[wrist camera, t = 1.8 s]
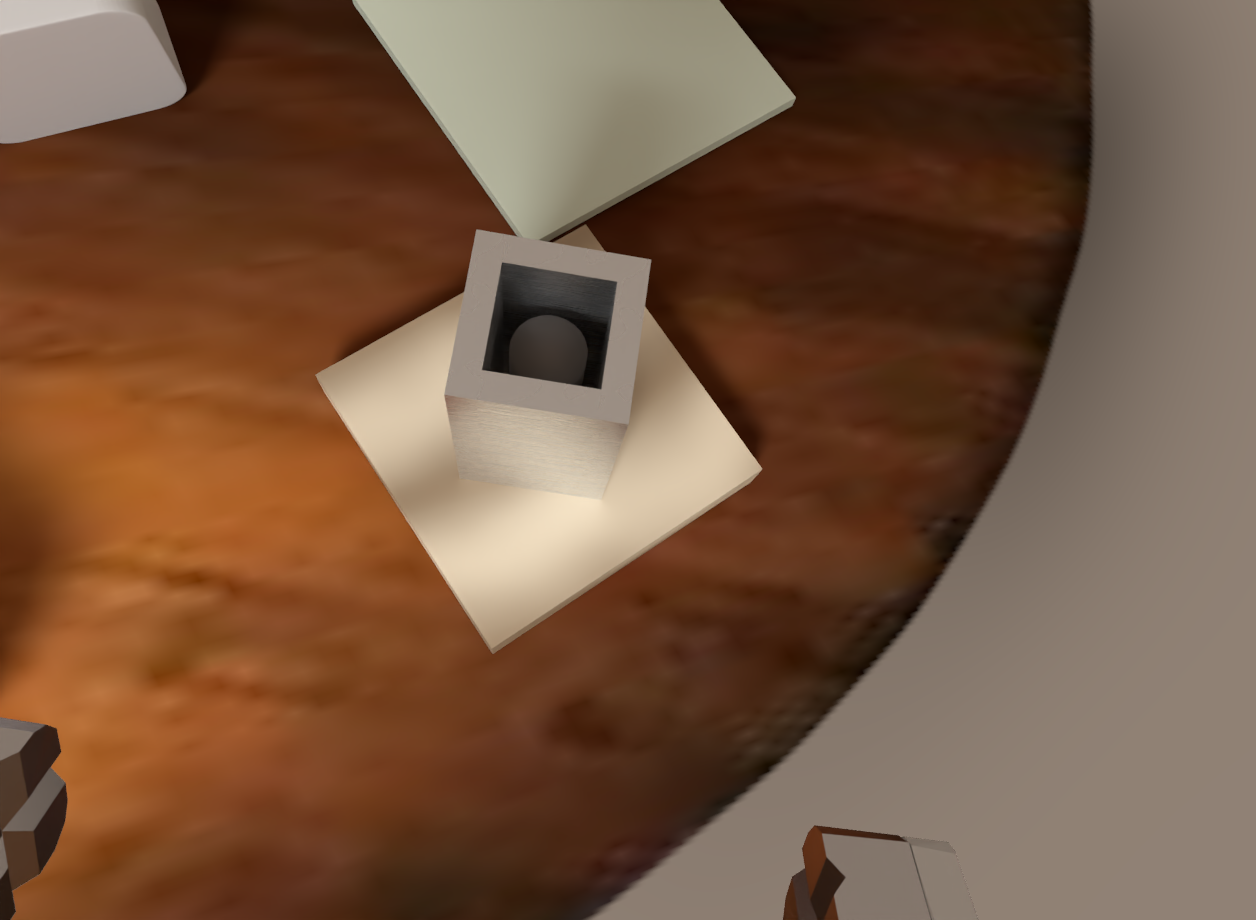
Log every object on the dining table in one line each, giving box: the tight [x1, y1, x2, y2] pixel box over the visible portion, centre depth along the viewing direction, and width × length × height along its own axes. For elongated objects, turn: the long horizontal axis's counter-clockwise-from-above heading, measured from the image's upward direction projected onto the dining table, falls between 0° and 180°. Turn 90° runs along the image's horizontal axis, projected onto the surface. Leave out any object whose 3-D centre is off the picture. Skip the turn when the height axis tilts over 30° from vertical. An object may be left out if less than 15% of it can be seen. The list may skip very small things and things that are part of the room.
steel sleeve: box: [444, 230, 651, 500], centre depth 33 cm, size 5×5×9 cm
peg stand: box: [316, 224, 762, 654], centre depth 35 cm, size 12×12×9 cm
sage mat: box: [353, 0, 796, 242], centre depth 44 cm, size 14×14×1 cm
